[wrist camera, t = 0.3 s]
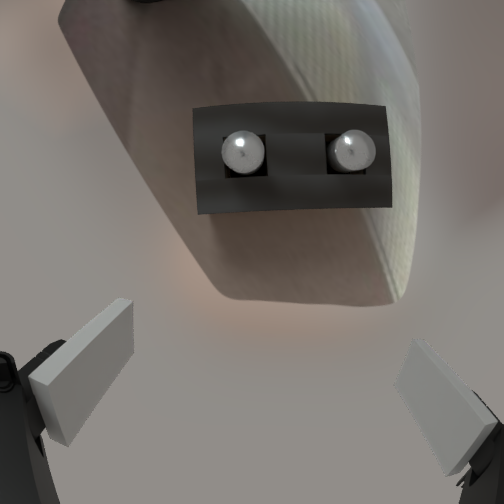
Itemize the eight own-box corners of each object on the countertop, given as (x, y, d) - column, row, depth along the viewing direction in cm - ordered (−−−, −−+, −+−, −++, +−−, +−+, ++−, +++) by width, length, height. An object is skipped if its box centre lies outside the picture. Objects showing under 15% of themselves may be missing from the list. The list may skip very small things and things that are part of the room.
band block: (202, 120, 36) (192, 108, 30) (368, 117, 35) (385, 106, 29) (207, 210, 38) (197, 214, 32) (374, 204, 37) (392, 207, 31)
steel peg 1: (227, 141, 32) (220, 132, 26) (262, 139, 32) (263, 129, 26) (228, 176, 33) (222, 173, 27) (264, 174, 32) (265, 170, 27)
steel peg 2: (324, 138, 31) (335, 128, 26) (357, 139, 31) (373, 130, 26) (326, 172, 32) (338, 169, 27) (359, 172, 32) (376, 170, 27)
